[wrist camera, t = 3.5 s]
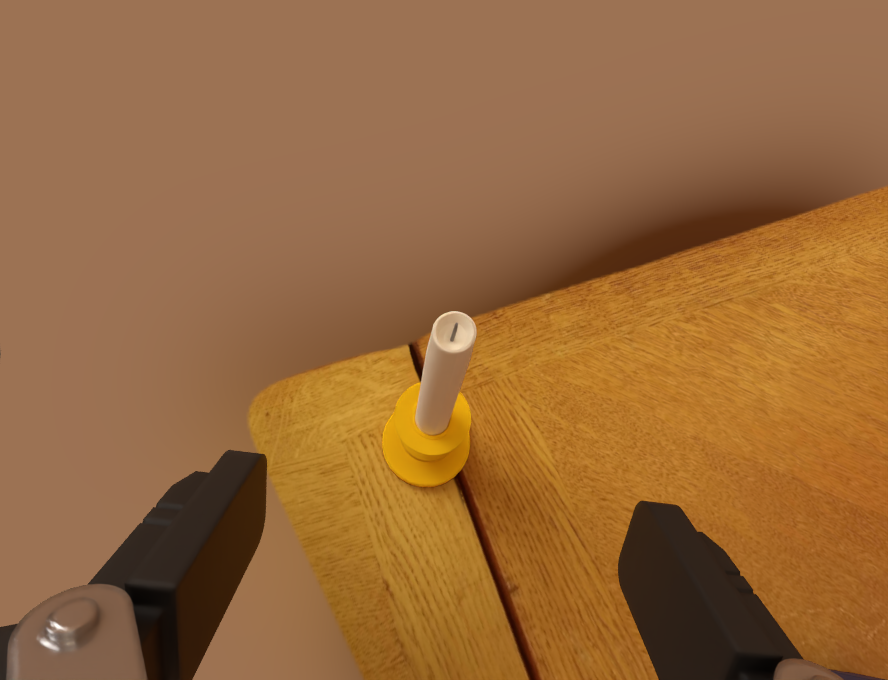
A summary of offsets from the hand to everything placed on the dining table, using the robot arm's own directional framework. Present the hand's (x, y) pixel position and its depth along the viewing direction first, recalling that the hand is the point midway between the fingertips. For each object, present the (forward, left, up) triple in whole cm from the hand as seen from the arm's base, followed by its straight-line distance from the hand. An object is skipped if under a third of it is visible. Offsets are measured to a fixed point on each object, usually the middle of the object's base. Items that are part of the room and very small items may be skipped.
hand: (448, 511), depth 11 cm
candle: (+2, +6, -18) cm, 19 cm away
